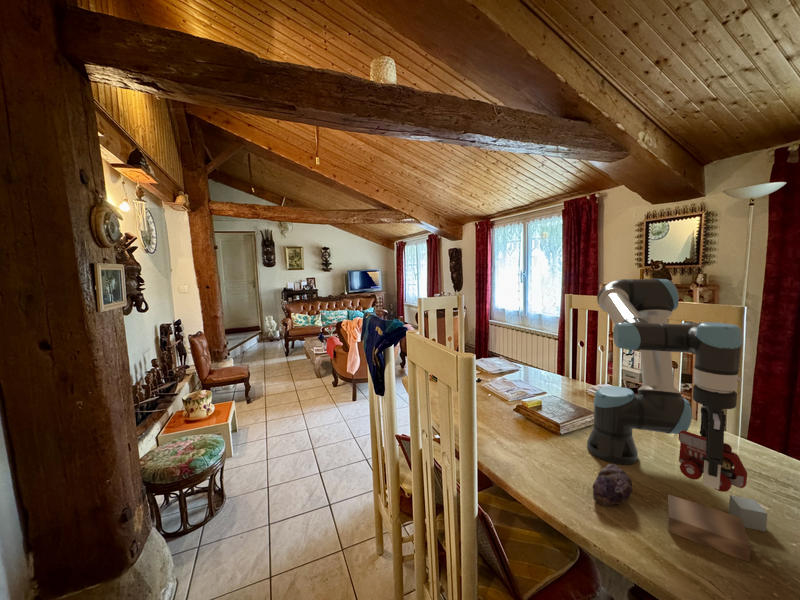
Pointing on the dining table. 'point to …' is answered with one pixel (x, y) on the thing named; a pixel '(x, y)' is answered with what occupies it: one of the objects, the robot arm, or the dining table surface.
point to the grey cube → (748, 512)
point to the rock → (612, 486)
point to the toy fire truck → (694, 465)
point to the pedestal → (708, 527)
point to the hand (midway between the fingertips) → (708, 476)
